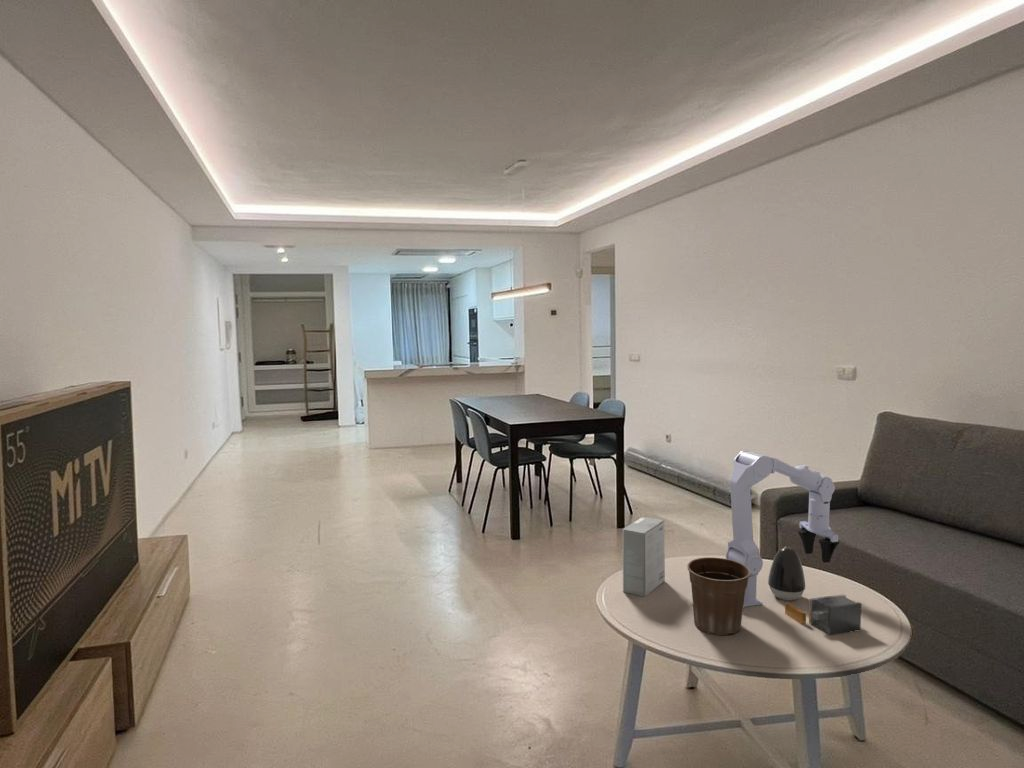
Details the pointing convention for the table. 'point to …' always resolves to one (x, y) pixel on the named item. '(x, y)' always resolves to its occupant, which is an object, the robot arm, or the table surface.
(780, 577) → the dark grey egg shape
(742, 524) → the robot arm
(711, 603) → the plant pot
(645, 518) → the hard drive box
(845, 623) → the motor
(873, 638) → the table surface
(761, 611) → the table surface
